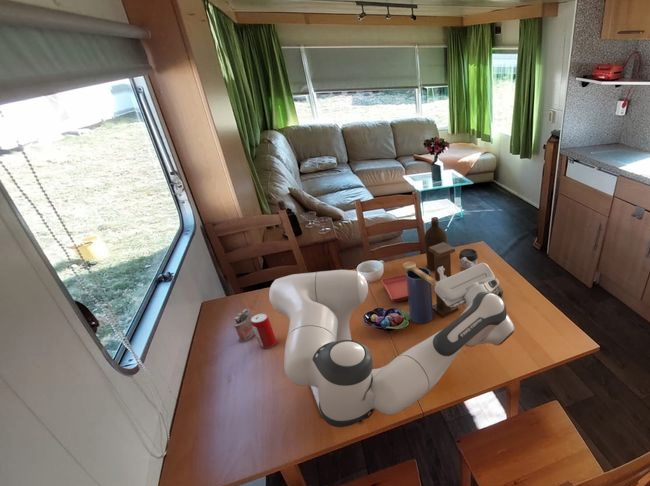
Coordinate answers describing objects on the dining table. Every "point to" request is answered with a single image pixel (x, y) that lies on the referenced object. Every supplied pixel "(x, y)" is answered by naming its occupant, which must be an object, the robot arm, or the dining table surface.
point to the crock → (419, 297)
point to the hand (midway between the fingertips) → (451, 263)
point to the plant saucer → (396, 287)
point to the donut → (498, 291)
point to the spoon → (418, 272)
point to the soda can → (263, 330)
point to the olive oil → (433, 240)
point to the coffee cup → (468, 257)
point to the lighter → (244, 325)
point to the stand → (443, 259)
